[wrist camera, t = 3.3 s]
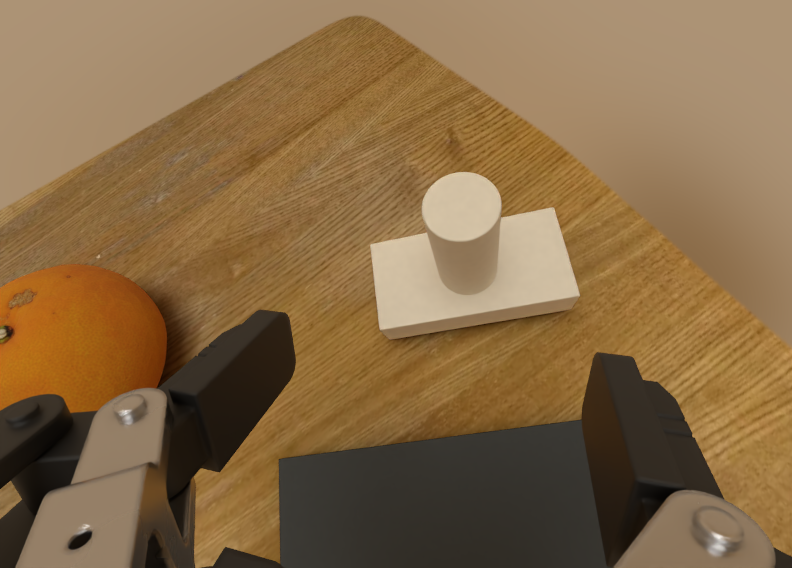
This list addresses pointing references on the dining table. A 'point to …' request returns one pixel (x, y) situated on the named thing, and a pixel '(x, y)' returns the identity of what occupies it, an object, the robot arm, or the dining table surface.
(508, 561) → the scrub mat
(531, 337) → the dining table surface
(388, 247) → the cream block with cylinder
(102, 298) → the fruit
